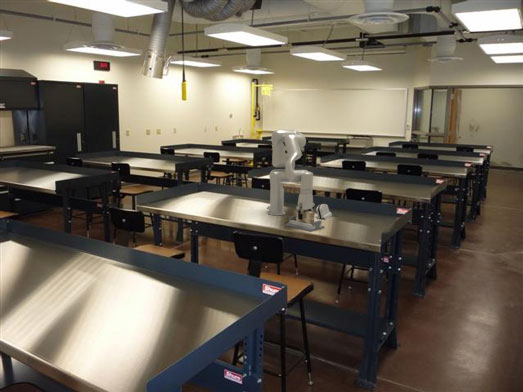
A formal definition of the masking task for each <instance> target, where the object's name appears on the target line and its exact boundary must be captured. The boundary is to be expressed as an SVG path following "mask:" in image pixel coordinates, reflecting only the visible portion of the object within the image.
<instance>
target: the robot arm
mask: <svg viewBox="0 0 523 392" xmlns="http://www.w3.org/2000/svg"><path fill="white" fill-rule="evenodd" d="M306 143H307V139H306V136H305V135H304V134H303V133H301V132H300V131H298V130H296V129H275V130H274V131H272V133H271V144H272V156H271V157H272V158H271V159H272V160H271V163H272V166H273V167H274V168H275V169H272V170H271V171H270V173H269V174H268V175H269V184H270V190H269V191H270V192H269V193H270V195H269V199H270V200H269V201H270V202H269V205H268V206H267V207H266V210H268V211H267V215H271V216H285V215H286V212H285V210H284V206H285V205H284V202H285V199H284V198H285V189H284V186H283V185H282V184H283V183H300V189H299V190H300V191H299V194H298V198H297V199H298V200H297V205H296V206H295V208H296V213H297V212H298V219H300V220H302V219H303V214H302V212H303V210H306V211H311V212H314V209H315V206H316V204H315V202H314V196H313V183H314V172H311V171H308V169H307V170H306V169H295V167H296V166H295V164H296V161H297V160H299V159H301V157H302V155H303V154H302V151H301V148H302V147H305V146H306ZM277 168H279V169H277ZM300 210H301V211H300Z"/></svg>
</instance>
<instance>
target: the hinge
mask: <svg viewBox="0 0 523 392" xmlns="http://www.w3.org/2000/svg"><path fill="white" fill-rule="evenodd" d="M315 212H316V214H317V220H320V219H324V221H325V220H328V219H329V218H330V217H333V214H332V212H331V211H330V209H329V205H328V204H326V203H322V204H318V205H317V207H316V210H315Z"/></svg>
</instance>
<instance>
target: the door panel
mask: <svg viewBox="0 0 523 392" xmlns="http://www.w3.org/2000/svg"><path fill="white" fill-rule="evenodd" d="M300 211H301V210H300ZM315 212H316V211H312V212H311V211H309V210H303V212H302V214H303V219H302V220H300V219H298V212H297V211H296V221H299V222H303V223H308V224H312V222H314V221H315Z"/></svg>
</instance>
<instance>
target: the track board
mask: <svg viewBox="0 0 523 392" xmlns="http://www.w3.org/2000/svg"><path fill="white" fill-rule="evenodd" d="M285 226H286V227H290V228H293V229H294V228H295V229H298V230H302V231H306V232H309V233H312V232H314V231H318V230H322V229H325V226H324V225H322V220H320V219H317V220H314V222H312V224H308V223H303V222H299V221H296V215H291V216H289V217H288V223H285Z"/></svg>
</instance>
